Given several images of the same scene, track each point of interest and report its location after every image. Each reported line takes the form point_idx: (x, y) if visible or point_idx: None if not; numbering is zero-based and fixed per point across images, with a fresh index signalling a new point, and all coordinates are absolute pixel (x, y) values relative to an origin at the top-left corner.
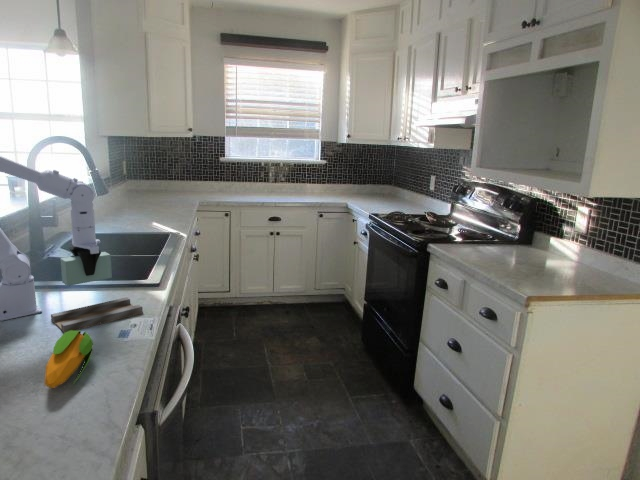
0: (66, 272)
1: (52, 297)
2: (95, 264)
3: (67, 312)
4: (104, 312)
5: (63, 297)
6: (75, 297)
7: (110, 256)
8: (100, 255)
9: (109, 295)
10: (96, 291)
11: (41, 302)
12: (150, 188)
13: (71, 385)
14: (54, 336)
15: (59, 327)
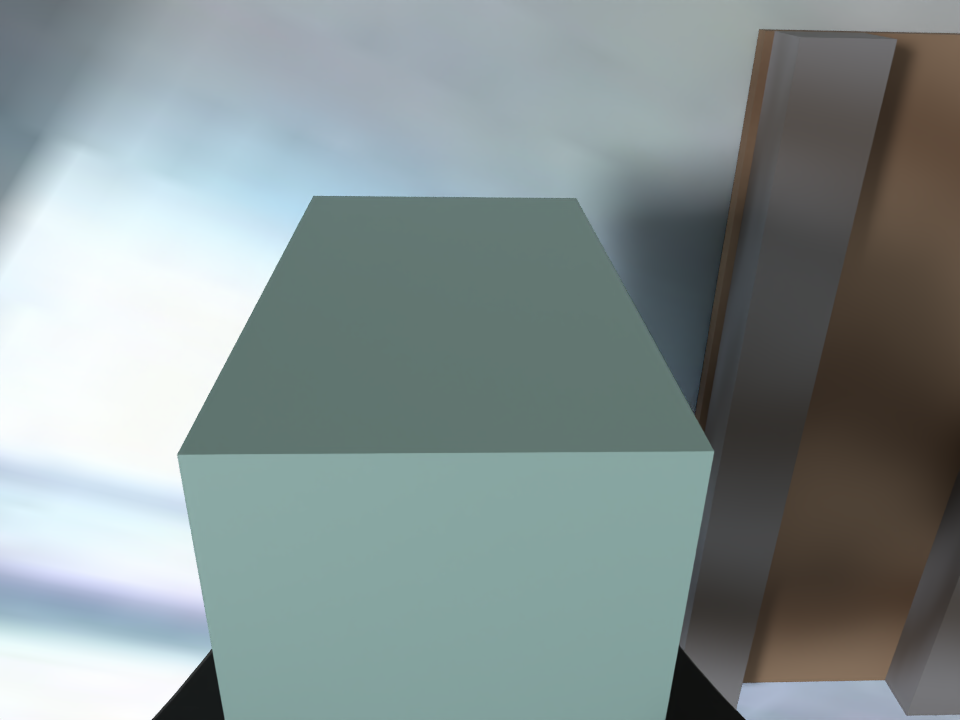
0: None
1: (76, 546)
2: (708, 688)
3: (731, 636)
4: (860, 360)
5: (129, 479)
6: (193, 398)
7: (690, 411)
8: (599, 687)
9: (342, 82)
10: (88, 149)
11: (176, 635)
12: None
13: None
14: (934, 716)
15: (840, 676)
